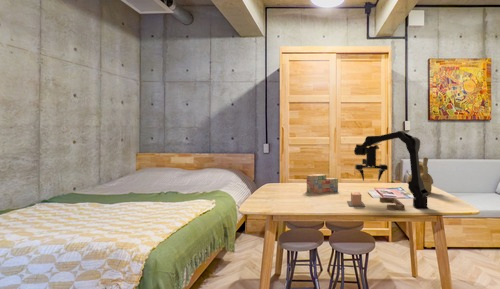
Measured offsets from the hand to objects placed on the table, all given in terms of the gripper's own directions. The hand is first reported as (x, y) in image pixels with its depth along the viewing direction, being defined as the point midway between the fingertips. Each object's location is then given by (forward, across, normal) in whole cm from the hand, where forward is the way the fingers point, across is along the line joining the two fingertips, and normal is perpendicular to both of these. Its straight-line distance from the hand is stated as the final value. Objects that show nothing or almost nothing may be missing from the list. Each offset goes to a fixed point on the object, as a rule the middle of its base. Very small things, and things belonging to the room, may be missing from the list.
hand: (371, 180), depth 217 cm
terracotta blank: (+11, +11, +15) cm, 22 cm away
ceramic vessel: (+12, -37, -27) cm, 47 cm away
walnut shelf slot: (+12, -9, +15) cm, 21 cm away
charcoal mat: (+12, +11, +15) cm, 22 cm away
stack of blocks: (+12, +29, -23) cm, 39 cm away
